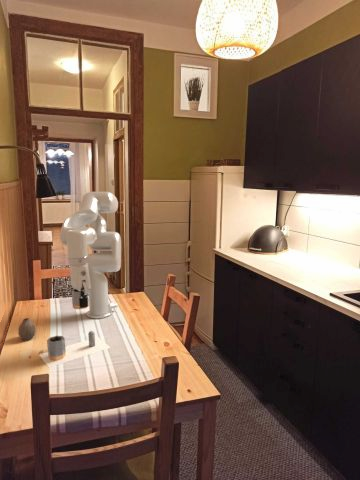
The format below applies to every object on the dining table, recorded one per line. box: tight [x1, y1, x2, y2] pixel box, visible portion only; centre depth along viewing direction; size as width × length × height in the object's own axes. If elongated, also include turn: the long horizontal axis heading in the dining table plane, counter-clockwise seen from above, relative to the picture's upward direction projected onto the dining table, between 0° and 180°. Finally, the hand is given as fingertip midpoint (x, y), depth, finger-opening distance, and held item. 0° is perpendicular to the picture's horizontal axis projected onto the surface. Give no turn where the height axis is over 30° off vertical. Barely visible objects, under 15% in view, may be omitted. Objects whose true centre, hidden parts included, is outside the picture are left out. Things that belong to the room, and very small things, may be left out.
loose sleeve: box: [71, 288, 89, 310], centre depth 139 cm, size 6×6×7 cm
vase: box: [17, 317, 37, 341], centre depth 150 cm, size 7×7×9 cm
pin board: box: [38, 330, 111, 368], centre depth 135 cm, size 24×12×8 cm, turn 127°
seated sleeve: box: [46, 335, 66, 361], centre depth 131 cm, size 6×6×7 cm
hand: (80, 304), depth 140 cm, fingers closed on loose sleeve, 5 cm apart
